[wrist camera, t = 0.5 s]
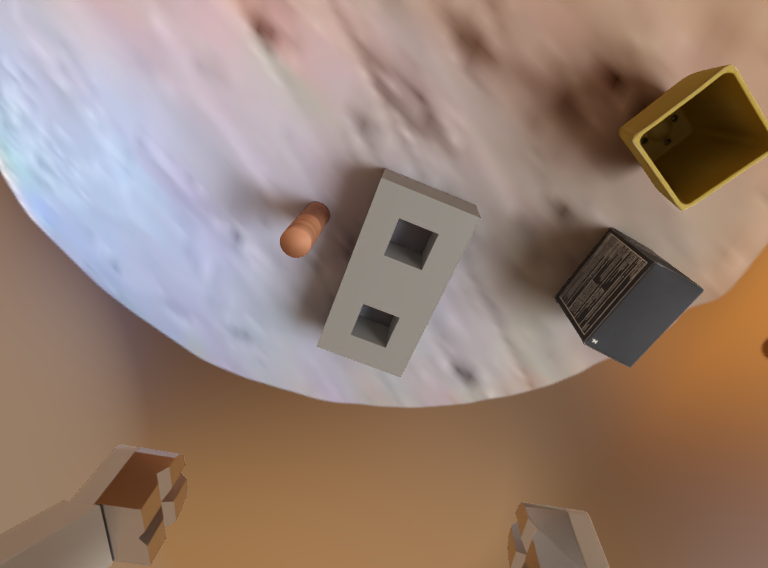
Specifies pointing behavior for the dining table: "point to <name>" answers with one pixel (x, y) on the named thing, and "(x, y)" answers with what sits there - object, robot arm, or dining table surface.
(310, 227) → the peg
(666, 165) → the flower pot
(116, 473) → the robot arm
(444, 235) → the hole block
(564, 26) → the dining table surface
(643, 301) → the small box
